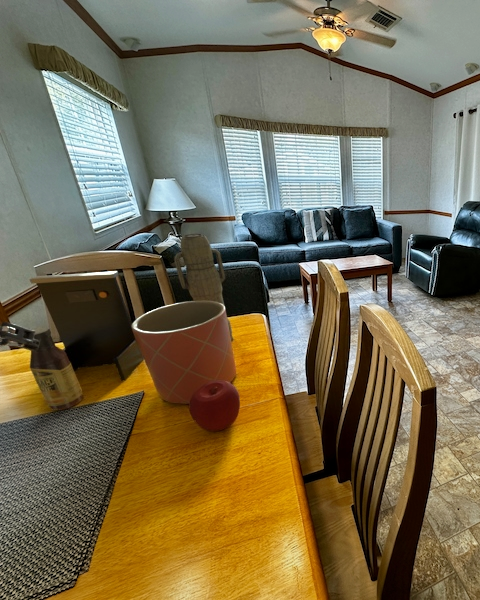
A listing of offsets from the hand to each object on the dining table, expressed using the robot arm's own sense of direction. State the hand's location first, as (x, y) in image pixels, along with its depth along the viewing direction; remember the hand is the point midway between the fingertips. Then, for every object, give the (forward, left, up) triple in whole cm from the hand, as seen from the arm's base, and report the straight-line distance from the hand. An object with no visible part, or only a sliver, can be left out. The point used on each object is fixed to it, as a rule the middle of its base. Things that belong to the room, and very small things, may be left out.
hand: (11, 348), depth 66 cm
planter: (+26, -13, -19) cm, 35 cm away
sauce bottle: (+4, +5, -19) cm, 21 cm away
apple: (+21, -32, -19) cm, 43 cm away
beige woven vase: (+41, +5, -19) cm, 46 cm away
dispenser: (+13, +15, -19) cm, 28 cm away
